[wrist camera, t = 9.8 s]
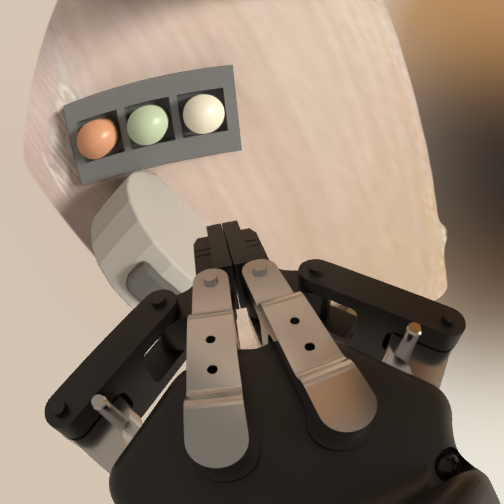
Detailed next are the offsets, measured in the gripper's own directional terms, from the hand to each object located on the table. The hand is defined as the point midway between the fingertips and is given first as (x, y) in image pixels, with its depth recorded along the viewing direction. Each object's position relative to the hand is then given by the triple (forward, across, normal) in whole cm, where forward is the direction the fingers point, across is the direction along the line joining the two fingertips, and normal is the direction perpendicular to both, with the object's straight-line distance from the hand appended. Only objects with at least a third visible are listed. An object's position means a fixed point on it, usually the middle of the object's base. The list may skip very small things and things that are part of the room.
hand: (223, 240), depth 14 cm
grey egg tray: (+29, +6, -4) cm, 30 cm away
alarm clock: (+29, +6, +12) cm, 32 cm away
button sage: (+28, +6, -4) cm, 29 cm away
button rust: (+28, +13, -4) cm, 31 cm away
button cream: (+28, -1, -4) cm, 28 cm away
